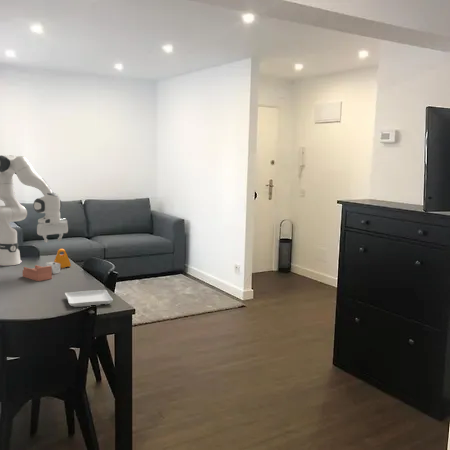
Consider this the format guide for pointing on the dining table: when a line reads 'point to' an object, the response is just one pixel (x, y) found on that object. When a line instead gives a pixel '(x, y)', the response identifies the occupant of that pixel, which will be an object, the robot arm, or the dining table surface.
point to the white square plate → (88, 298)
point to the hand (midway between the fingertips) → (53, 241)
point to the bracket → (62, 259)
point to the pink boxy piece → (38, 273)
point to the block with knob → (54, 267)
